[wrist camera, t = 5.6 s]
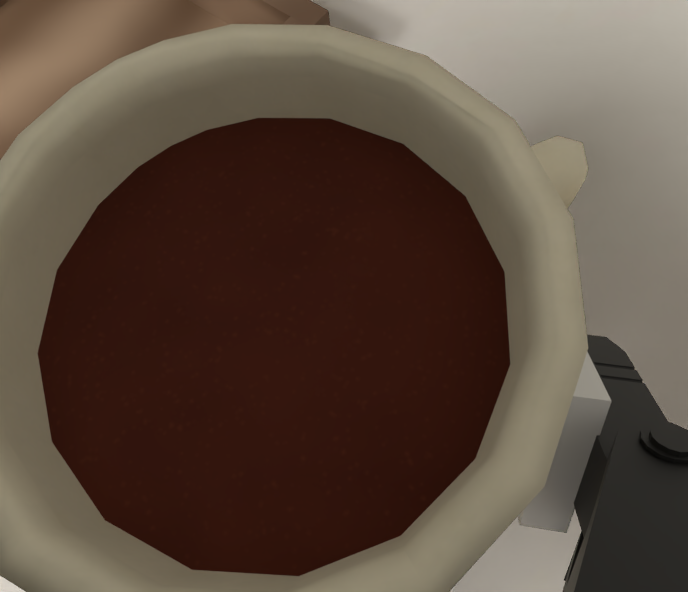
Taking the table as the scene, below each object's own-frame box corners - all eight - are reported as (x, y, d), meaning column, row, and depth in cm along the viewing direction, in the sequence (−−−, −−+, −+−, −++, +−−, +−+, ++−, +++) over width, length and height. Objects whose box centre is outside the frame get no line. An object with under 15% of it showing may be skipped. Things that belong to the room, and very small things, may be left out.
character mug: (415, 254, 19) (469, -128, 7) (536, 419, 17) (918, 275, 5) (156, 410, 18) (-316, 272, 6) (250, 610, 16) (-201, 1055, 4)
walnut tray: (-162, 154, 23) (-253, 101, 20) (95, -63, 27) (54, -139, 23) (65, 370, 19) (-2, 347, 16) (337, 79, 22) (328, 10, 19)
